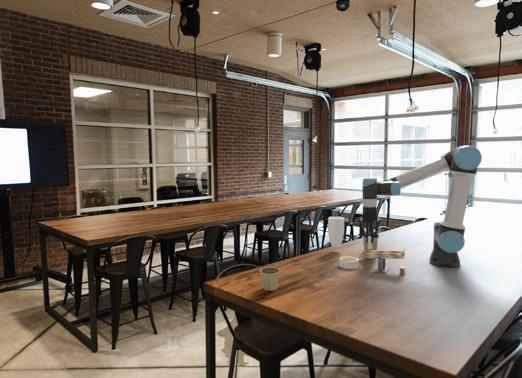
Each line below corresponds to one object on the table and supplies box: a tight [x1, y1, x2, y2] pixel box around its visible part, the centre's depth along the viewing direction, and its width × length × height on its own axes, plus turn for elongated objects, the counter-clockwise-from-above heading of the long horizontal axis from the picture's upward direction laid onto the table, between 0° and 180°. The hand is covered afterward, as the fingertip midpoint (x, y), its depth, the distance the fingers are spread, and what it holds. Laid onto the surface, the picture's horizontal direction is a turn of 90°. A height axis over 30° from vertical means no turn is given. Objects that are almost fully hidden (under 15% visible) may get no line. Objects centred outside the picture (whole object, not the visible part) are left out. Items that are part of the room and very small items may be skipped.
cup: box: [327, 216, 345, 249], centre depth 227 cm, size 10×10×22 cm
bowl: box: [338, 255, 360, 270], centre depth 198 cm, size 10×10×4 cm
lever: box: [358, 249, 405, 260], centre depth 193 cm, size 22×13×3 cm, turn 62°
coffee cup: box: [361, 230, 380, 260], centre depth 213 cm, size 9×9×15 cm
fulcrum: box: [373, 258, 406, 276], centre depth 188 cm, size 14×11×7 cm
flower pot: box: [259, 266, 281, 292], centre depth 166 cm, size 9×9×9 cm
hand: (369, 248), depth 200 cm, fingers closed
